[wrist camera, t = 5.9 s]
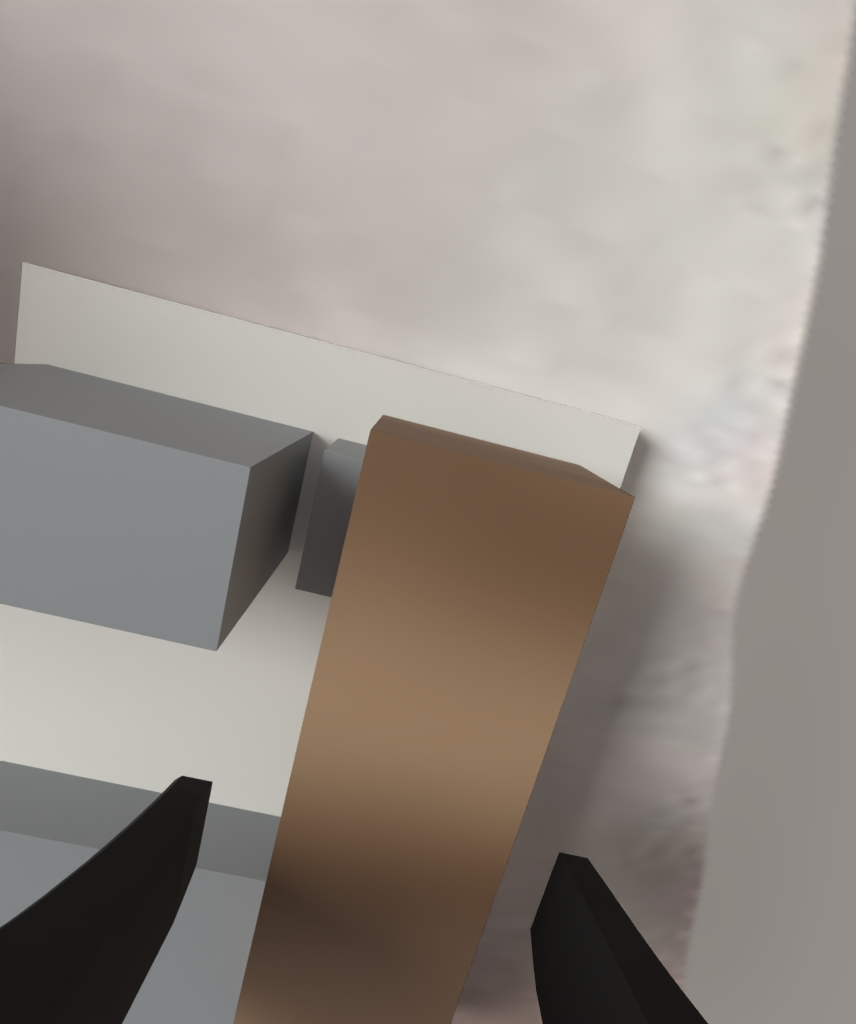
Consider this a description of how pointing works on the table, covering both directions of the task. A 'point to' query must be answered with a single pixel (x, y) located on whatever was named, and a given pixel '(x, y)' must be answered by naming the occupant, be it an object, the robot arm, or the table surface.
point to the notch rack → (188, 581)
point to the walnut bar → (425, 722)
